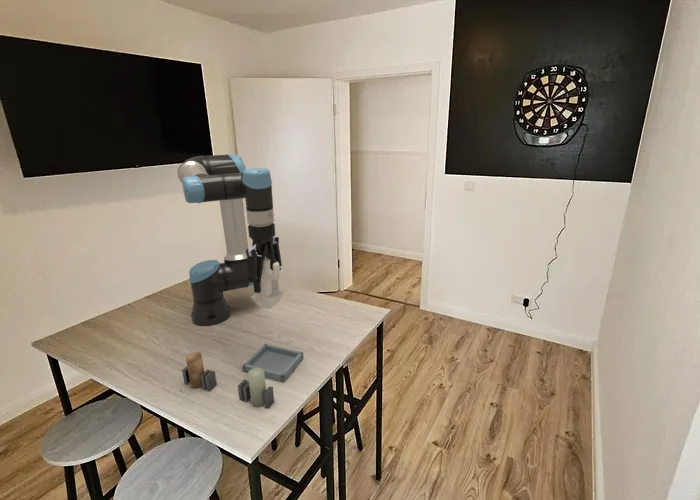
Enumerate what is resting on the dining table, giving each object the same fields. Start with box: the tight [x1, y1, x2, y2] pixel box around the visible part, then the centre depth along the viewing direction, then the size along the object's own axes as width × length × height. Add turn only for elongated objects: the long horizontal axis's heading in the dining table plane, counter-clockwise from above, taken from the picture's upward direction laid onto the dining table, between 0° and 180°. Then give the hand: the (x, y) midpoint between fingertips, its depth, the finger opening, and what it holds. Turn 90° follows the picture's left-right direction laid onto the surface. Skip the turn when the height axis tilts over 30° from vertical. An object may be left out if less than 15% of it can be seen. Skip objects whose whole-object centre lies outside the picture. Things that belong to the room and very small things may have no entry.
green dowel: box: [247, 368, 267, 408], centre depth 103 cm, size 4×4×10 cm
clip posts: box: [181, 365, 275, 409], centre depth 108 cm, size 30×3×5 cm, turn 69°
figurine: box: [250, 257, 285, 310], centre depth 111 cm, size 7×9×15 cm
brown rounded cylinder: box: [185, 351, 205, 390], centre depth 111 cm, size 4×4×10 cm
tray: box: [242, 343, 304, 383], centre depth 120 cm, size 15×13×2 cm
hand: (267, 295), depth 112 cm, fingers closed on figurine, 7 cm apart
